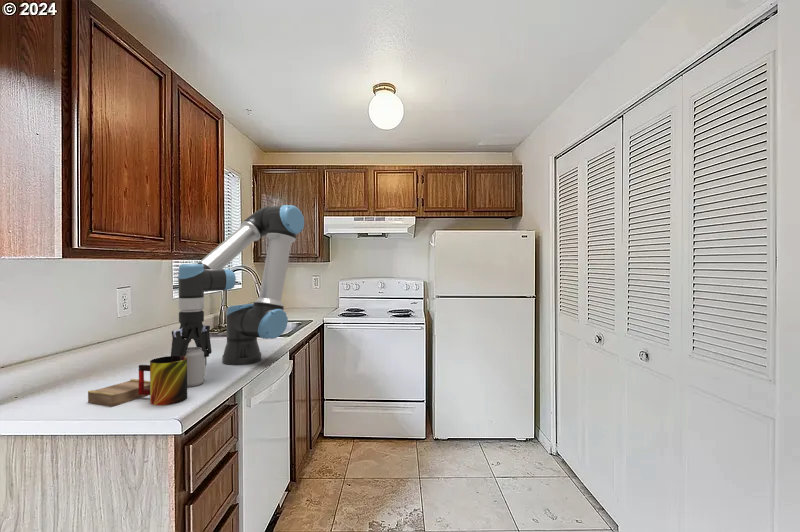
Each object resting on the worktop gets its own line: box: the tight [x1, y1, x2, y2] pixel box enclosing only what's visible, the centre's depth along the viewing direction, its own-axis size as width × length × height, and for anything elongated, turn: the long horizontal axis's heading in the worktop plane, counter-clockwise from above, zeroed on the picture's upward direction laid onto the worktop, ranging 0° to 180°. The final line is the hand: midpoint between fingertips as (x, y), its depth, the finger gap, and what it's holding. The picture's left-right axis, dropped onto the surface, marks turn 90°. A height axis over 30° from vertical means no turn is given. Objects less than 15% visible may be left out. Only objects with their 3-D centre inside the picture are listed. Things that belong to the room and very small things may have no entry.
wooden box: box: [87, 378, 150, 407], centre depth 131 cm, size 14×10×3 cm
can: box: [185, 346, 205, 388], centre depth 145 cm, size 8×8×12 cm
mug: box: [138, 355, 188, 406], centre depth 128 cm, size 10×14×12 cm
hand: (191, 379), depth 145 cm, fingers closed on can, 7 cm apart
